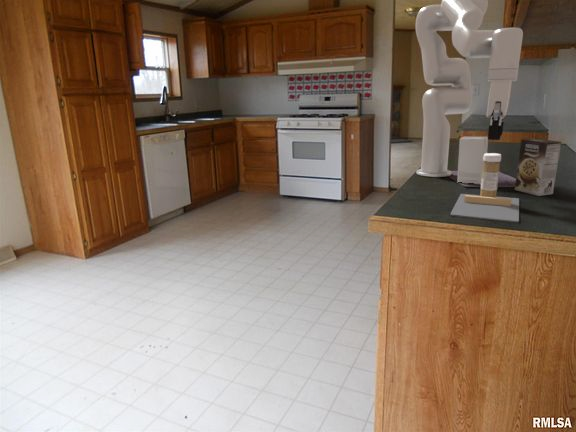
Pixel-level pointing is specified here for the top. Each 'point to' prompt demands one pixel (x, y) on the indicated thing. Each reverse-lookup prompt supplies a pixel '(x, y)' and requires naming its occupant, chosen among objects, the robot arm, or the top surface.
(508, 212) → the mat
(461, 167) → the skincare box
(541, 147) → the coffee box
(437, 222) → the top surface
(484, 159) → the sprinkles bottle
